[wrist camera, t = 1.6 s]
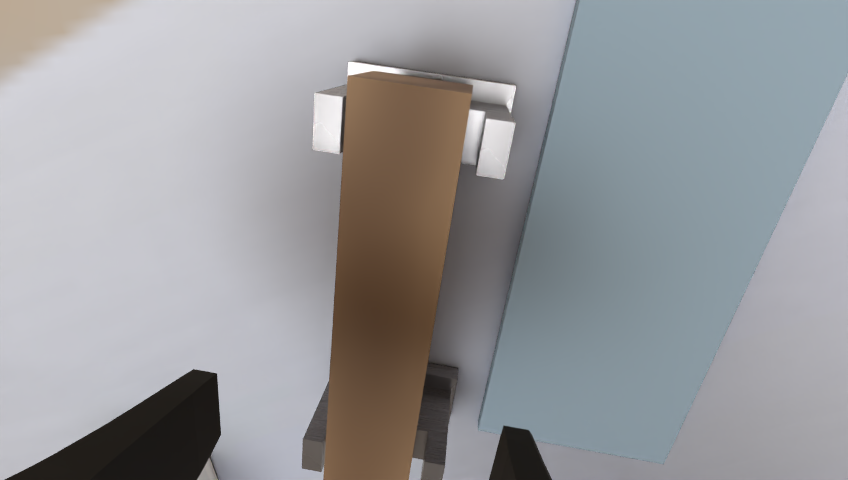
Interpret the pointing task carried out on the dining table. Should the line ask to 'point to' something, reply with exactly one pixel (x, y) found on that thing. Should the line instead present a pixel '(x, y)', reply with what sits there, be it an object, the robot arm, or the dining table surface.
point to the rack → (490, 156)
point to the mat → (655, 209)
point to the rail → (389, 265)
